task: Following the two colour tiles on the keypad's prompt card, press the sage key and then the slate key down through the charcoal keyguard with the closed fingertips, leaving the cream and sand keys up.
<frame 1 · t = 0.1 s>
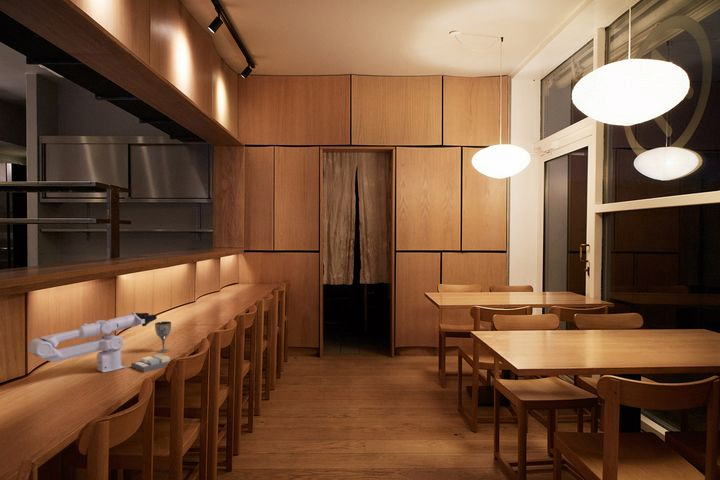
hand: (152, 315, 224), 22 cm above the bar counter, tool horizontal, fingers open, 7 cm apart
wine glass: (163, 351, 240), on the bar counter
key slate: (153, 362, 211), point 3 cm above the bar counter, slide at 0.0 cm
keyguard: (155, 365, 215), on the bar counter
key cream: (147, 360, 214), point 3 cm above the bar counter, slide at 0.0 cm
key sage: (158, 357, 218), point 3 cm above the bar counter, slide at 0.0 cm
key sand: (163, 359, 215), point 3 cm above the bar counter, slide at 0.0 cm
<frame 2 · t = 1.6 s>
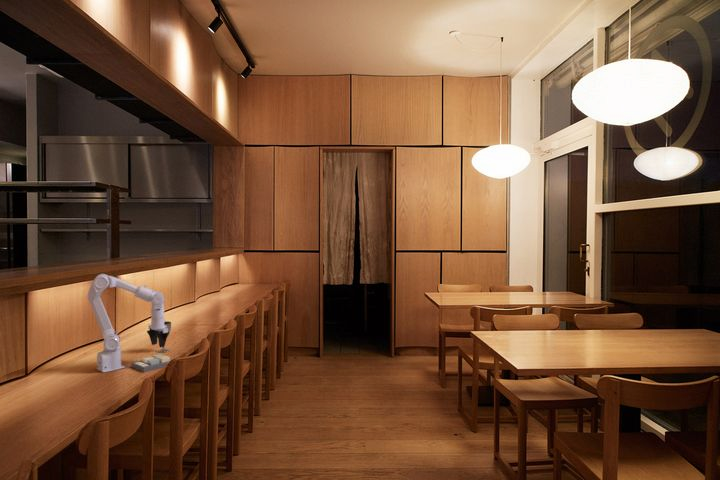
hand: (158, 345, 218), 8 cm above the bar counter, tool pointing down, fingers open, 7 cm apart
nothing on the bar counter moved.
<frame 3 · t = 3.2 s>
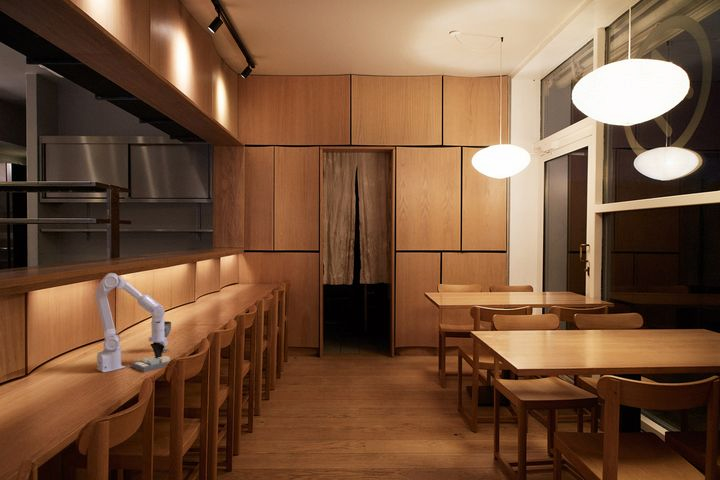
hand: (158, 357, 218), 2 cm above the bar counter, tool pointing down, fingers closed, pressing on key sage
key sage: (158, 359, 218), point 1 cm above the bar counter, slide at 1.1 cm, touching gripper
everything else where it was.
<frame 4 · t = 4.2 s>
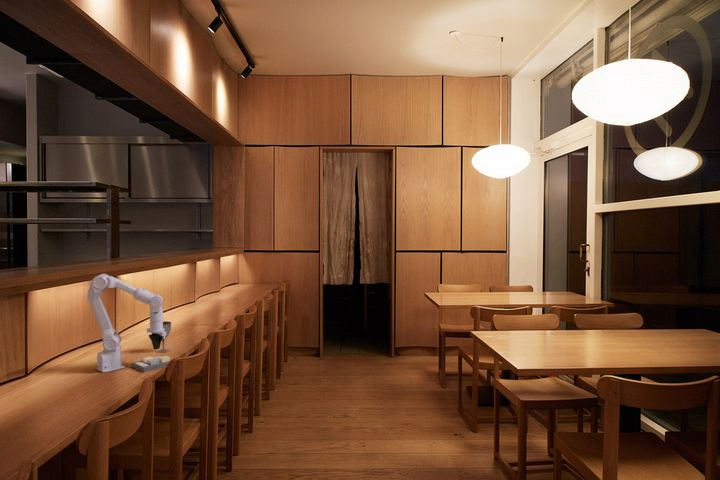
hand: (156, 349, 216), 7 cm above the bar counter, tool pointing down, fingers closed
key sage: (158, 359, 218), point 1 cm above the bar counter, slide at 1.1 cm
everything else where it was.
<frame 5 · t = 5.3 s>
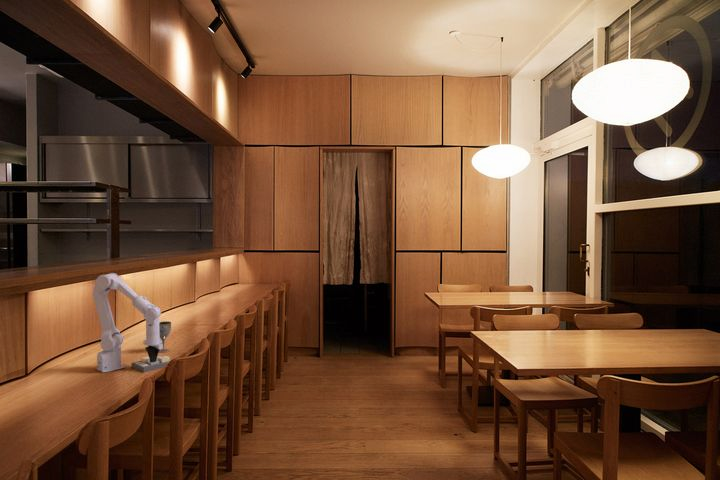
hand: (153, 361, 211), 3 cm above the bar counter, tool pointing down, fingers closed, pressing on key slate
key slate: (153, 363, 211), point 2 cm above the bar counter, slide at 0.8 cm, touching gripper
everything else where it was.
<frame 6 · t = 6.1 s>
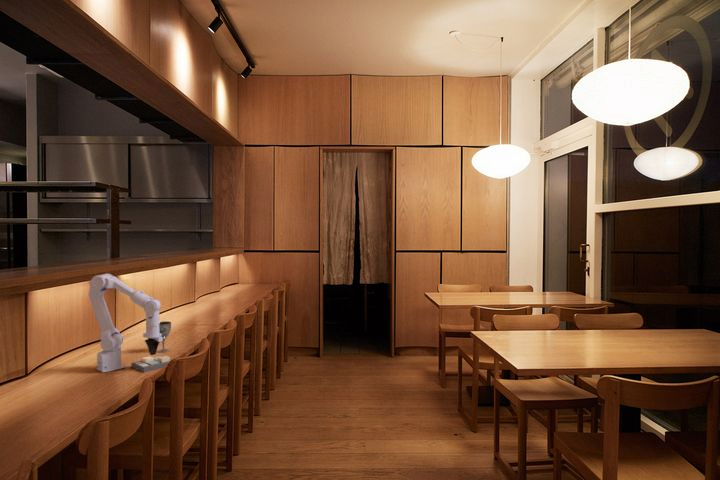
hand: (152, 354, 211), 6 cm above the bar counter, tool pointing down, fingers closed
key slate: (153, 364, 211), point 1 cm above the bar counter, slide at 1.1 cm
everything else where it was.
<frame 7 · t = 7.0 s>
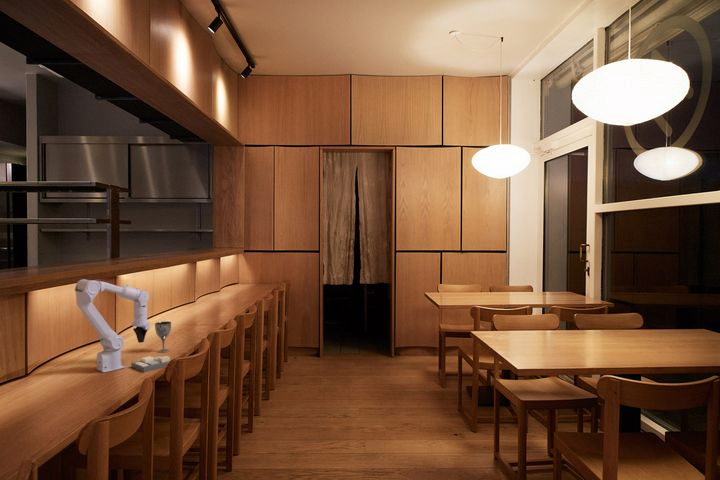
hand: (141, 342, 221), 9 cm above the bar counter, tool pointing down, fingers closed
nothing on the bar counter moved.
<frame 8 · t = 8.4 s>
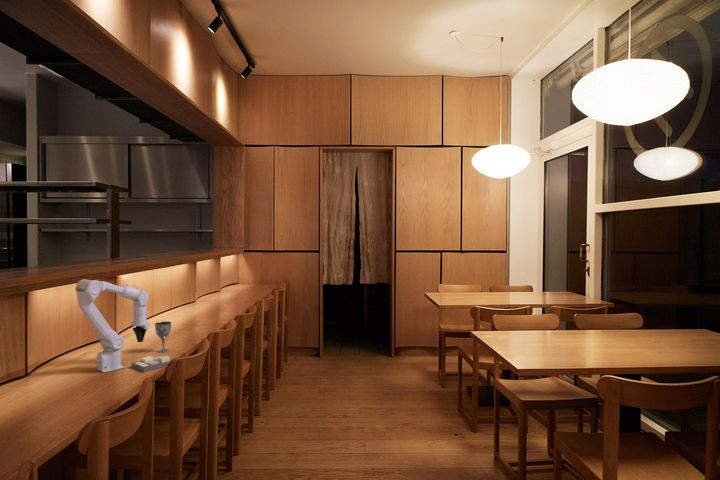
hand: (140, 341, 222), 9 cm above the bar counter, tool pointing down, fingers closed
nothing on the bar counter moved.
at the end: key sage slide at 1.1 cm; key slate slide at 1.1 cm; key cream slide at 0.0 cm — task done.
